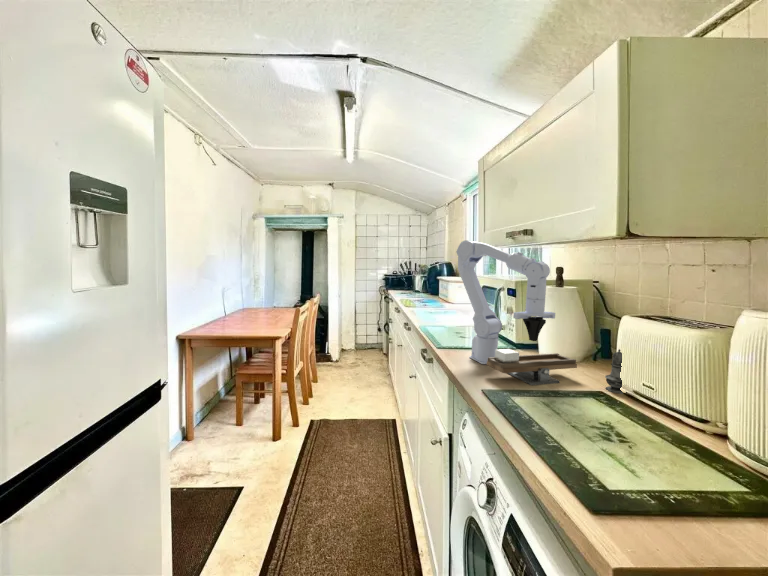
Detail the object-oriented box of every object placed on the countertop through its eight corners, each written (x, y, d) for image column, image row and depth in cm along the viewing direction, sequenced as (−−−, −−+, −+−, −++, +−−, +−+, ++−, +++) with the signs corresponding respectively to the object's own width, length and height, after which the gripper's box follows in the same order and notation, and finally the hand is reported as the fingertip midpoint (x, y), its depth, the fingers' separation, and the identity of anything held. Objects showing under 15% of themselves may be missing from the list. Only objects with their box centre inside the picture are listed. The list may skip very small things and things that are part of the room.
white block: (494, 362, 112) (495, 349, 112) (508, 361, 113) (509, 348, 113) (504, 366, 107) (504, 353, 107) (518, 365, 109) (519, 352, 109)
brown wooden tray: (486, 364, 114) (486, 356, 114) (555, 360, 121) (556, 352, 121) (503, 373, 105) (503, 365, 105) (576, 367, 112) (577, 360, 112)
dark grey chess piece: (632, 395, 100) (636, 352, 99) (608, 393, 101) (612, 350, 100) (622, 388, 106) (626, 347, 105) (600, 386, 107) (603, 345, 106)
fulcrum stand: (503, 371, 118) (504, 358, 118) (529, 369, 121) (530, 356, 121) (531, 385, 105) (532, 370, 105) (560, 383, 108) (561, 369, 108)
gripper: (524, 300, 112) (521, 343, 113) (563, 300, 115) (560, 342, 116) (510, 297, 118) (508, 339, 119) (547, 298, 122) (545, 337, 123)
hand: (532, 340), depth 118 cm, fingers closed
